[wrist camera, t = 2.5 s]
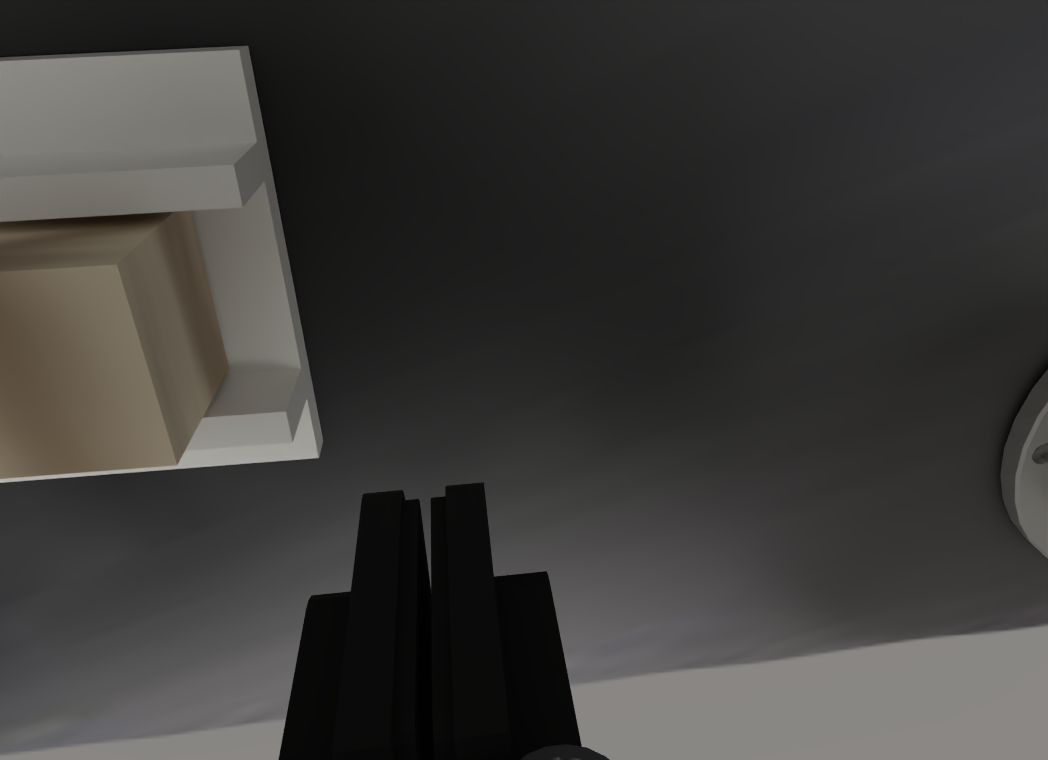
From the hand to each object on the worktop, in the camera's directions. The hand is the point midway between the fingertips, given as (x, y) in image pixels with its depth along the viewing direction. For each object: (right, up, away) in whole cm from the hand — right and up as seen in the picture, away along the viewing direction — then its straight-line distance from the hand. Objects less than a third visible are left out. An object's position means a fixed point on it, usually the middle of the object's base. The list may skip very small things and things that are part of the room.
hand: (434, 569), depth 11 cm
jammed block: (-10, +5, +10) cm, 15 cm away
